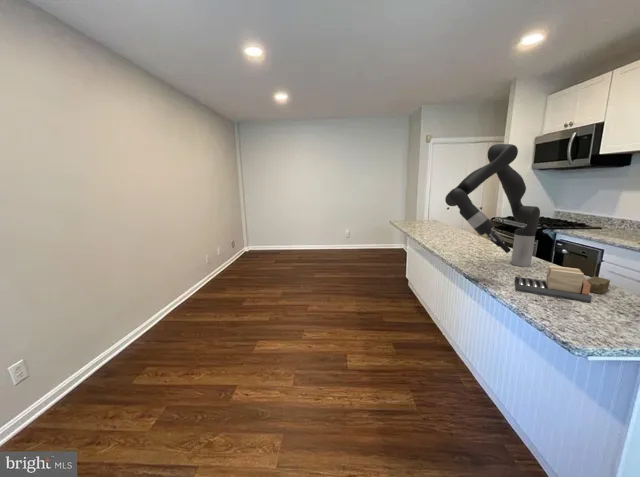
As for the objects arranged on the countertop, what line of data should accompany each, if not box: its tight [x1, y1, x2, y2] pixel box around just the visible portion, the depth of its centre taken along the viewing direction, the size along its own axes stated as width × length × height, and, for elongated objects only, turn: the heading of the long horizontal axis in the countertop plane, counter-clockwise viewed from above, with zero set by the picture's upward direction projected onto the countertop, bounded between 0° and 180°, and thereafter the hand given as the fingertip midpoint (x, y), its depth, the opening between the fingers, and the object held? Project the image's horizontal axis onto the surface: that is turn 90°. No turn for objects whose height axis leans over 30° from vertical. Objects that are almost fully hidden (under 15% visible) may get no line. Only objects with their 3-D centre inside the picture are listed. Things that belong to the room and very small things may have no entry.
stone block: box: [586, 276, 611, 295], centre depth 119 cm, size 6×12×5 cm, turn 124°
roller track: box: [514, 276, 593, 304], centre depth 118 cm, size 12×24×7 cm, turn 57°
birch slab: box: [545, 265, 585, 293], centre depth 115 cm, size 8×10×8 cm
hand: (508, 251), depth 124 cm, fingers closed
